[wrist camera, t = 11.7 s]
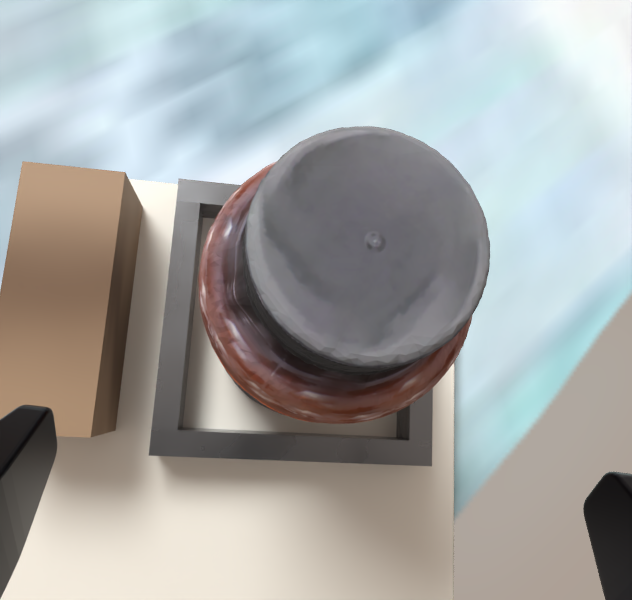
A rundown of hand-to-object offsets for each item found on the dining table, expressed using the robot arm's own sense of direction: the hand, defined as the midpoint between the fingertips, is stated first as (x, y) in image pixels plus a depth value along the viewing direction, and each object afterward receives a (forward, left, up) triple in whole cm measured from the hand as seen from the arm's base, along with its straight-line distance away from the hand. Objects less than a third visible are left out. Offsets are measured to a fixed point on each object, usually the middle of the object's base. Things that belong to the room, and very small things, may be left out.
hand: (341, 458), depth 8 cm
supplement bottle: (+3, 0, -10) cm, 11 cm away
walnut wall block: (+4, +7, -10) cm, 13 cm away
